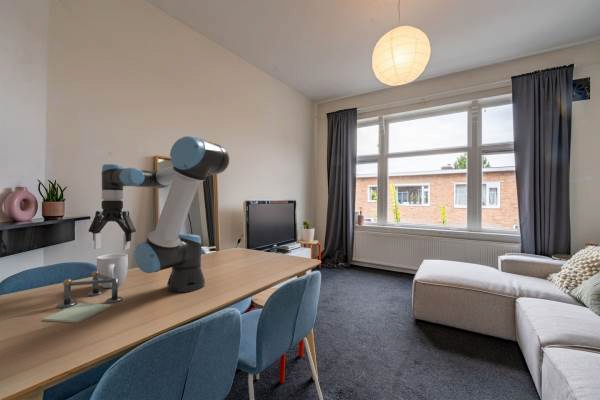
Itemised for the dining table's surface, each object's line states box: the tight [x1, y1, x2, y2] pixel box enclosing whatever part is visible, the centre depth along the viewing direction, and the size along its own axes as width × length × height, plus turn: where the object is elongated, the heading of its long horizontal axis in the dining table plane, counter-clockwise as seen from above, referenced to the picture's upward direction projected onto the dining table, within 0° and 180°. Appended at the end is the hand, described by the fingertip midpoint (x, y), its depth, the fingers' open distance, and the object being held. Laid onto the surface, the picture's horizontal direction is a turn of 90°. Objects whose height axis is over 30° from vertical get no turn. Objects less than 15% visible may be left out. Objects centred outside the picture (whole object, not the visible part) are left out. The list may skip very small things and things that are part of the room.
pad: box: [42, 302, 112, 324], centre depth 83 cm, size 12×12×1 cm
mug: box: [96, 253, 129, 289], centre depth 109 cm, size 15×11×13 cm
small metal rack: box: [57, 269, 124, 309], centre depth 94 cm, size 18×16×9 cm
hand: (112, 248), depth 109 cm, fingers open, 13 cm apart
